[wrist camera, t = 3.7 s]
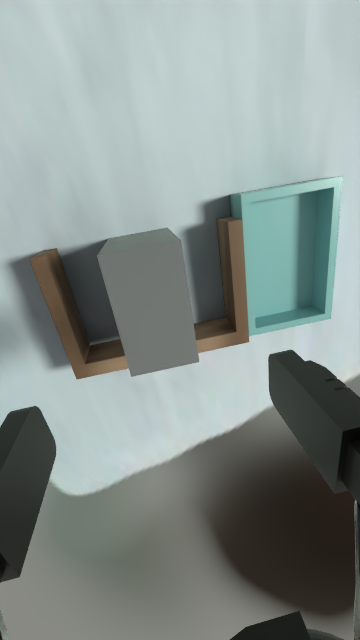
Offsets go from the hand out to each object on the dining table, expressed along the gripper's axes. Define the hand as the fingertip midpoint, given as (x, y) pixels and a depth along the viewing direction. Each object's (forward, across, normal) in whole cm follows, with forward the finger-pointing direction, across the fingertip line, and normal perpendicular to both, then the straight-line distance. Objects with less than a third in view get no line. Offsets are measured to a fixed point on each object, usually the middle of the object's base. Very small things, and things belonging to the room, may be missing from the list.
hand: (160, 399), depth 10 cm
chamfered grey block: (+15, 0, 0) cm, 15 cm away
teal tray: (+14, -11, 0) cm, 18 cm away
